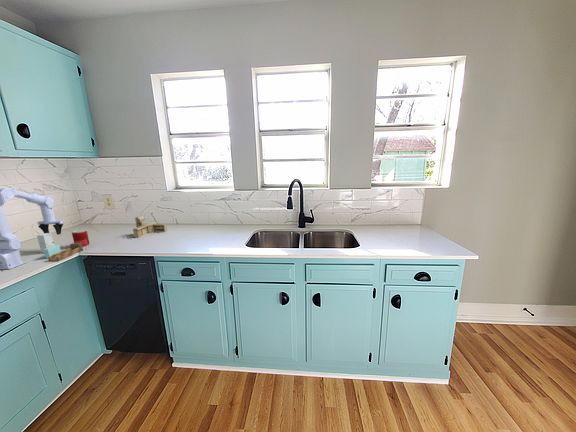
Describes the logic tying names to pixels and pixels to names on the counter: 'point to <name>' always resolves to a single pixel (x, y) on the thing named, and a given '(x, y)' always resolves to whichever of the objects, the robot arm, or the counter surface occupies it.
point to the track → (67, 252)
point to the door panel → (52, 251)
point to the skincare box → (45, 241)
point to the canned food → (81, 237)
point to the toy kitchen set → (147, 227)
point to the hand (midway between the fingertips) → (53, 234)
